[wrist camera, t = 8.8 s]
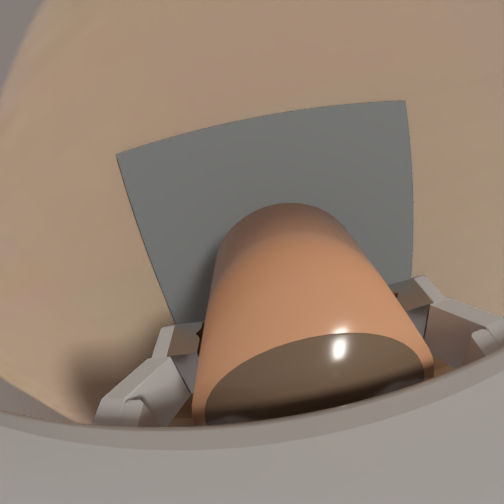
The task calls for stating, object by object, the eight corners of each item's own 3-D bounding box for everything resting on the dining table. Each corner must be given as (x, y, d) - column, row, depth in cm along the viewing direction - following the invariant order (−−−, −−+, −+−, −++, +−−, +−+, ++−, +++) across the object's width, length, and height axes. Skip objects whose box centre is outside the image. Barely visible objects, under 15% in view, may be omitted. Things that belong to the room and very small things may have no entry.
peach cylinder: (351, 189, 11) (455, 288, 5) (358, 313, 14) (412, 438, 8) (197, 220, 12) (148, 350, 5) (233, 338, 14) (229, 475, 8)
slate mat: (402, 100, 12) (405, 100, 12) (406, 303, 18) (408, 306, 17) (118, 153, 13) (116, 154, 13) (187, 345, 19) (186, 348, 18)
